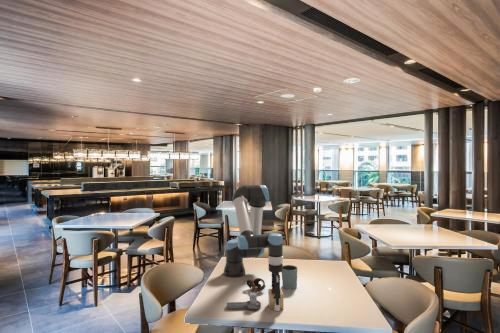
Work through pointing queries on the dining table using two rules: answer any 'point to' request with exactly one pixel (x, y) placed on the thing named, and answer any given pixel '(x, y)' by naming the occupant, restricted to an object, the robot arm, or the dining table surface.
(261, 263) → the dining table surface
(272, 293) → the hollow square tube
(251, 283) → the ring-shaped clay flask
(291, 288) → the grey green cup
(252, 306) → the grey handled bowl
